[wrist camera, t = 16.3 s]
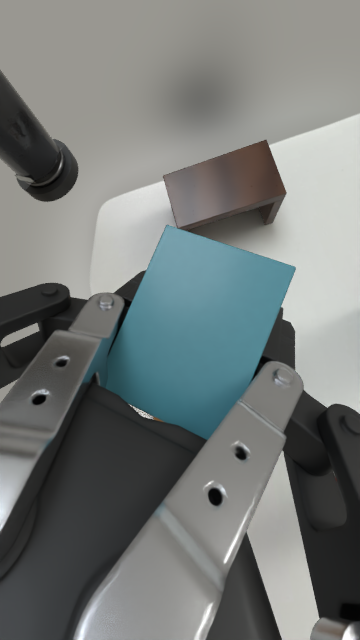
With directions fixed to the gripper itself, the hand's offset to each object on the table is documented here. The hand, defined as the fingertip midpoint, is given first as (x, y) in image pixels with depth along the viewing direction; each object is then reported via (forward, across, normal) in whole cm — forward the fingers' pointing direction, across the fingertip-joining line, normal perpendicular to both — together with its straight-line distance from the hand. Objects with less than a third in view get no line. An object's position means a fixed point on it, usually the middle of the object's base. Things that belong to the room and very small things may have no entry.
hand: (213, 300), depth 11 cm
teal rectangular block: (+2, 0, +4) cm, 5 cm away
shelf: (+29, +6, +3) cm, 30 cm away
